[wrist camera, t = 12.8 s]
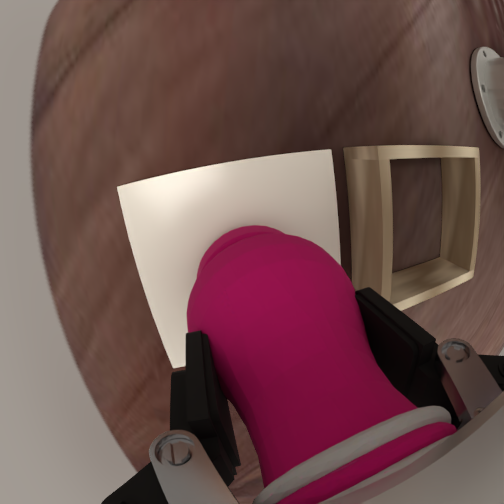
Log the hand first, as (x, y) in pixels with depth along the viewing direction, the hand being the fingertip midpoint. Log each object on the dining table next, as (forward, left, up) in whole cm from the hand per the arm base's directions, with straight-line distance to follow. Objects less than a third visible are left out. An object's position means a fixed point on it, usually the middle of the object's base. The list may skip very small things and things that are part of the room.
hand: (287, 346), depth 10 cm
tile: (0, 0, -9) cm, 9 cm away
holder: (-13, -1, -9) cm, 16 cm away
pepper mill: (0, 0, -7) cm, 7 cm away
